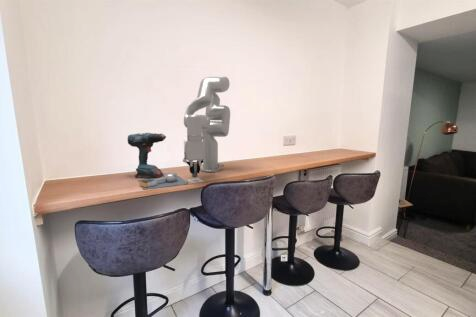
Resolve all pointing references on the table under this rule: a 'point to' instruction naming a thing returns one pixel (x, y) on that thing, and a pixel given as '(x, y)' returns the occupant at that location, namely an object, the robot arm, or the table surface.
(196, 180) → the pad
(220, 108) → the robot arm
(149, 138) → the power drill
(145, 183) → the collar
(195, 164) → the key
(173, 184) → the board
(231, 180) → the table surface
